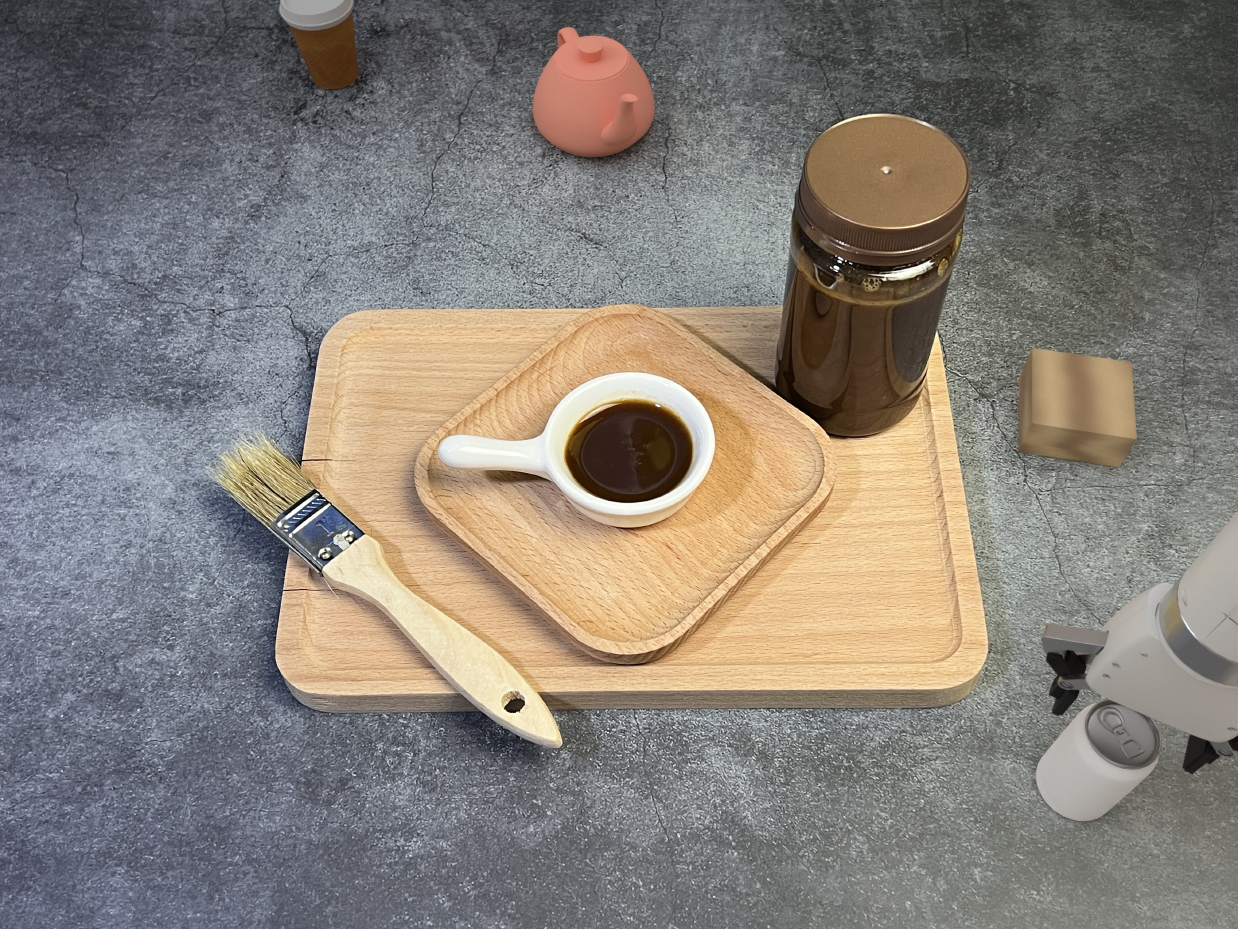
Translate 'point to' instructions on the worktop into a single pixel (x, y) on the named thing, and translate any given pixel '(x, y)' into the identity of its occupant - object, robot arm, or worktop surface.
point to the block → (1076, 407)
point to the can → (1098, 760)
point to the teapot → (592, 97)
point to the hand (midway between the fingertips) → (1124, 726)
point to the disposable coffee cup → (324, 39)
